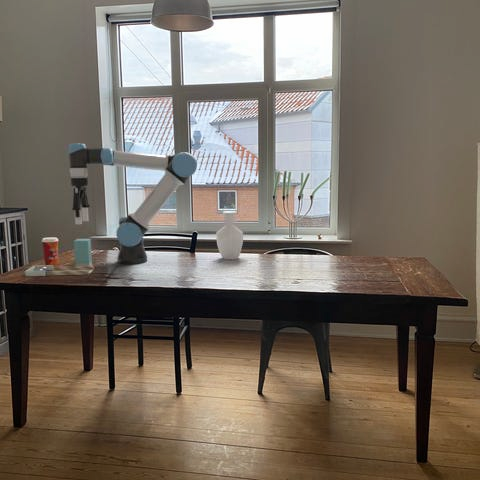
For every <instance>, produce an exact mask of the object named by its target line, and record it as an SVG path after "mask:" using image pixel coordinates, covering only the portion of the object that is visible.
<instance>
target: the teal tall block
mask: <svg viewBox="0 0 480 480" xmlns="http://www.w3.org/2000/svg"><path fill="white" fill-rule="evenodd" d="M91 240H92V239H91V238H76V239H75V240H73V250H74V251H73V252H74V253H73V256H74V266H93V257H92V256H93V255H92V241H91Z"/></svg>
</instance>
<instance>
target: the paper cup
mask: <svg viewBox="0 0 480 480" xmlns="http://www.w3.org/2000/svg"><path fill="white" fill-rule="evenodd" d="M41 242H42V243H41V244H42V249H43V257H44V258H43V259H44V265H53V267H56V266H58V265H59V239H58V237H43V238H42V240H41Z"/></svg>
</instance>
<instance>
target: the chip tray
mask: <svg viewBox="0 0 480 480" xmlns="http://www.w3.org/2000/svg"><path fill="white" fill-rule="evenodd" d="M39 266H46V271H54V268H53V267H54V266H53V265H45V264H44V265H41V264H40V265H33V266H31V267H29V268H28V269H26V270H25V271H24V277H40V276H41V277H45V276H47V272H45V270H44V271H33V269H36V267H39Z"/></svg>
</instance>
